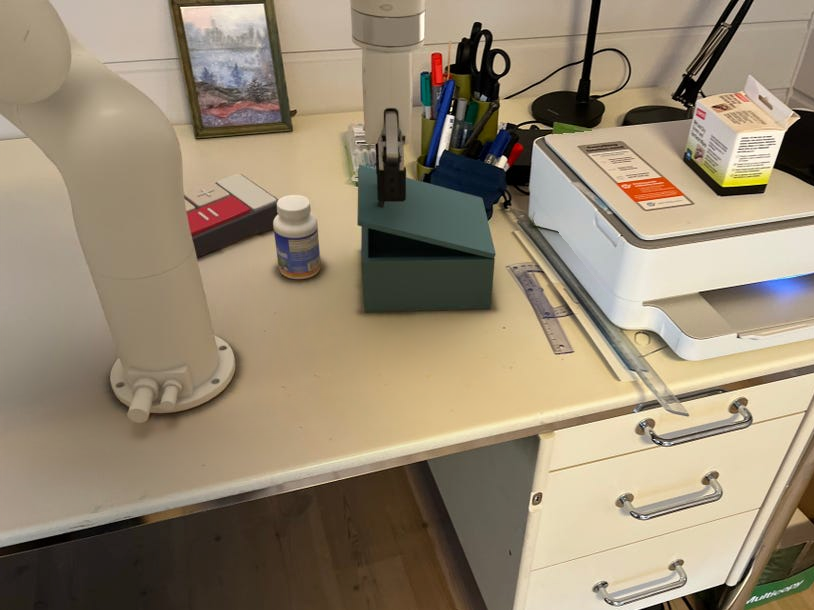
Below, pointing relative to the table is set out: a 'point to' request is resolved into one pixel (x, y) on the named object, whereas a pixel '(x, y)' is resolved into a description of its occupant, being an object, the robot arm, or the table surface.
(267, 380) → the table surface
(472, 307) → the case
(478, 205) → the lid
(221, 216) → the calculator
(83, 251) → the robot arm
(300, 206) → the pill bottle
